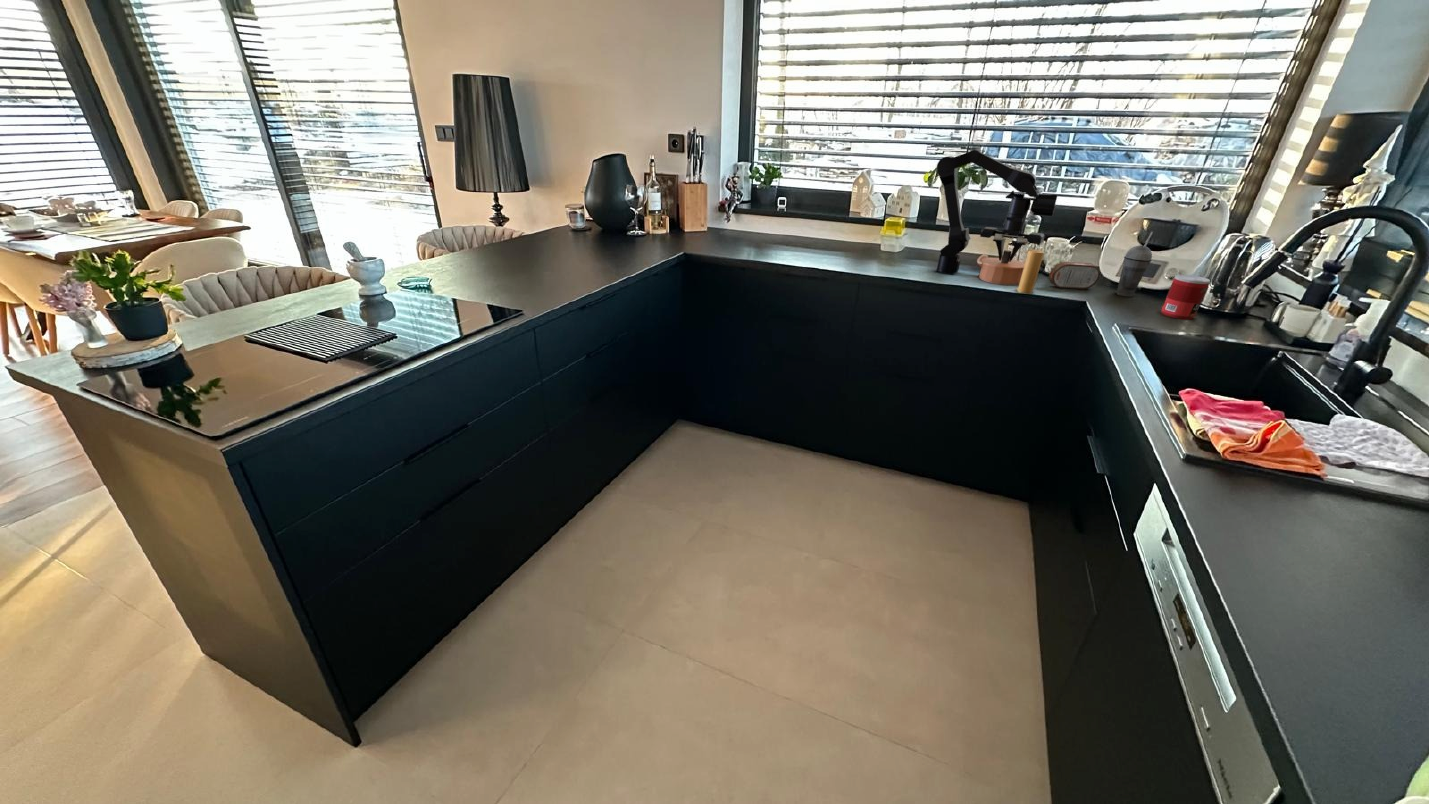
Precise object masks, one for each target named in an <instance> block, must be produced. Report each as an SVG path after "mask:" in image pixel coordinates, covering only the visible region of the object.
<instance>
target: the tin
mask: <svg viewBox="0 0 1429 804" xmlns="http://www.w3.org/2000/svg"><path fill="white" fill-rule="evenodd" d="M1100 277H1101V271H1100V269H1099V267H1097V265H1095V264H1094V263H1090V262H1076V261H1062V262H1059V263H1057V264H1055V265H1054V266H1053V267H1052V268H1051V269H1050V271H1049V274H1048V280H1049V282H1050V284H1051V285H1053V286H1055V287H1056V288H1058V289H1059V288H1060V289H1074V290H1075V289H1077V290H1087V289H1090V288H1091V287H1092V288H1093V286H1095V284H1097V282H1098V281H1099V279H1100Z"/></svg>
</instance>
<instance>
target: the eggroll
mask: <svg viewBox="0 0 1429 804" xmlns="http://www.w3.org/2000/svg"><path fill="white" fill-rule="evenodd" d="M1044 255H1045V251H1043V250H1039V249H1029V250H1028V251H1027V255H1026V259H1025V261H1024V263H1025V265H1024V269H1023V272H1022V276H1021V280H1020V283H1019V284H1018V287H1017V292H1018V293H1020V294H1021V293H1022V294H1026V295H1027V294H1029V295H1030V294H1033V292H1034V289H1035V286H1036V282H1037V278H1038V275H1039V272H1040V268H1041V266H1042V261H1043V258H1044Z"/></svg>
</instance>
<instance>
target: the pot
mask: <svg viewBox="0 0 1429 804" xmlns="http://www.w3.org/2000/svg"><path fill="white" fill-rule="evenodd" d="M1022 272H1023V269H1005V268H998V267H993V266H989V265H986V264H984V263H982V267H980V271H979V276H978V277H979V280H982V281H984V282H987V283H990V284H995V285H1005V286H1016V285H1017V286H1019V283H1020V280H1021V276H1022Z"/></svg>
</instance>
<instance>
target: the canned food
mask: <svg viewBox="0 0 1429 804" xmlns="http://www.w3.org/2000/svg"><path fill="white" fill-rule="evenodd" d="M1210 283H1211V280H1210V279H1208V278H1207V277H1203V276H1199V275H1198V276H1197V275H1192V274H1191V275H1190V274H1175V275H1174V278H1173V280H1172V281H1171V285H1170V287H1169V290H1168V292H1167V294H1166V298H1165V299H1164V302H1163V305H1162V307H1161V314H1162V315H1163V316H1166V317H1169V318H1173V319H1178V320H1179V319H1180V320H1193V319H1194V318H1195V317H1196V315H1197V313H1198V310H1199V308H1200V307H1201V305H1202V301H1203V299H1204V298H1205V295H1206V293H1207V290H1208V288H1209V285H1210Z"/></svg>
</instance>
